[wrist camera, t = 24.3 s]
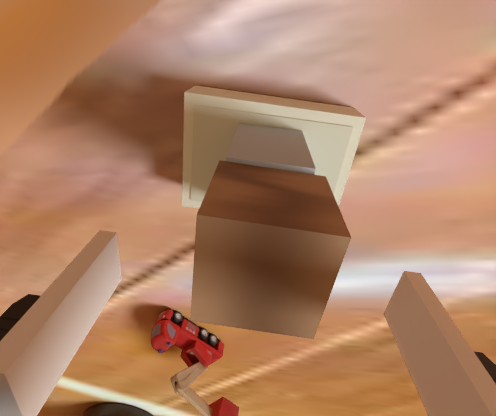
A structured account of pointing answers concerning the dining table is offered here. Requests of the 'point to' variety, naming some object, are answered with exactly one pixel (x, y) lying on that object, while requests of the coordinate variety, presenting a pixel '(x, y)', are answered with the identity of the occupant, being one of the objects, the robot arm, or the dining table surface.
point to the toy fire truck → (191, 358)
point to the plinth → (265, 114)
